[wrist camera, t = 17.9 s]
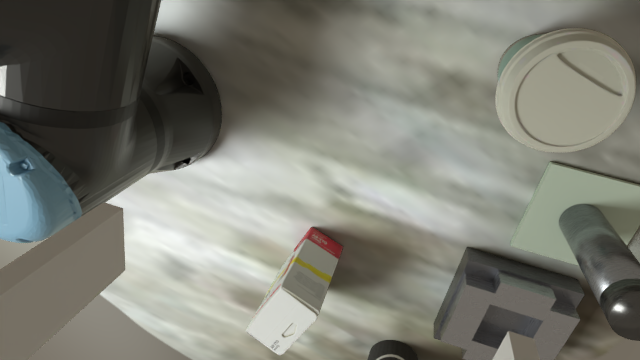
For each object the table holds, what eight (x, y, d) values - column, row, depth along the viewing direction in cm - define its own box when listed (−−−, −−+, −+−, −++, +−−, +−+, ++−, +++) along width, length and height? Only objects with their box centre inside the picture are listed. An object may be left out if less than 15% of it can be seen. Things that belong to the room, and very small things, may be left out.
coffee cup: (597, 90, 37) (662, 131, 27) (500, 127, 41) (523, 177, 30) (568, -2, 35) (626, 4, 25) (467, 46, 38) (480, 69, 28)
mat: (510, 243, 45) (510, 246, 45) (549, 161, 41) (551, 163, 40) (606, 270, 44) (607, 274, 44) (658, 189, 40) (661, 192, 39)
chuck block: (433, 323, 52) (433, 350, 48) (466, 247, 47) (469, 271, 43) (531, 354, 51) (539, 386, 47) (577, 279, 45) (591, 307, 41)
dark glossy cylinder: (551, 231, 43) (598, 329, 31) (569, 198, 41) (626, 289, 29) (592, 243, 43) (656, 347, 30) (611, 210, 41) (688, 307, 28)
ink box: (312, 224, 51) (280, 285, 40) (345, 246, 51) (322, 314, 40) (278, 267, 55) (242, 333, 44) (309, 288, 55) (280, 359, 45)
